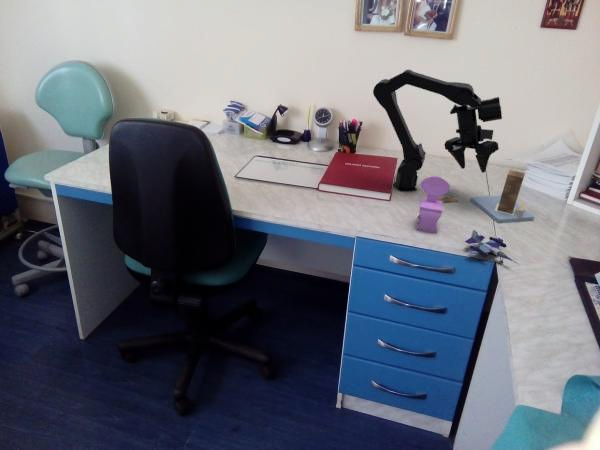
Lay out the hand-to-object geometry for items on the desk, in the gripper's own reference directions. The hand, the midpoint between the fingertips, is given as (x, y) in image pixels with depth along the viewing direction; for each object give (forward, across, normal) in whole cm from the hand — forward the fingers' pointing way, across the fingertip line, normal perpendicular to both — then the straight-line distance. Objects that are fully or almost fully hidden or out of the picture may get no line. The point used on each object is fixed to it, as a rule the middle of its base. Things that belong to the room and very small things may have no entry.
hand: (473, 170), depth 155 cm
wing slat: (+8, +4, +11) cm, 14 cm away
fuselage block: (+13, -10, -3) cm, 16 cm away
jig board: (+14, -7, -3) cm, 16 cm away
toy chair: (+7, -8, +27) cm, 29 cm away
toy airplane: (+13, -28, +23) cm, 38 cm away
